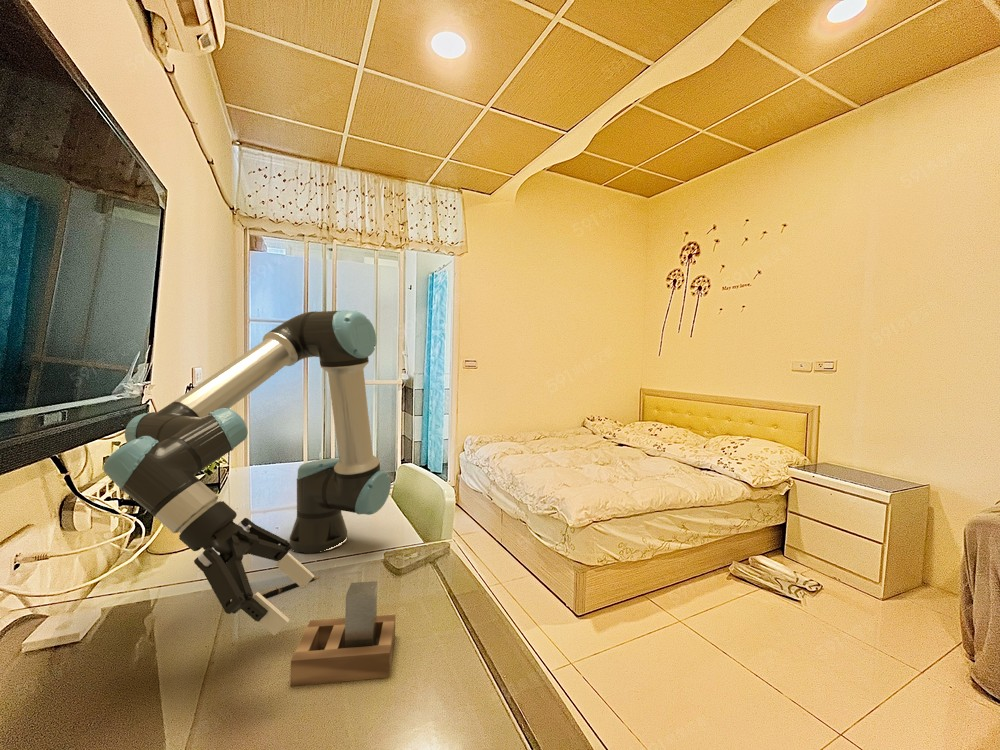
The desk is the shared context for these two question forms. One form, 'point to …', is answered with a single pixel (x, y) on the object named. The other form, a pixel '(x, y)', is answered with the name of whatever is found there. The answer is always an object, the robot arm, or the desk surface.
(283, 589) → the fountain pen
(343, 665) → the wooden slotted frame
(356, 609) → the grey tall rectangular block
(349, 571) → the desk surface
